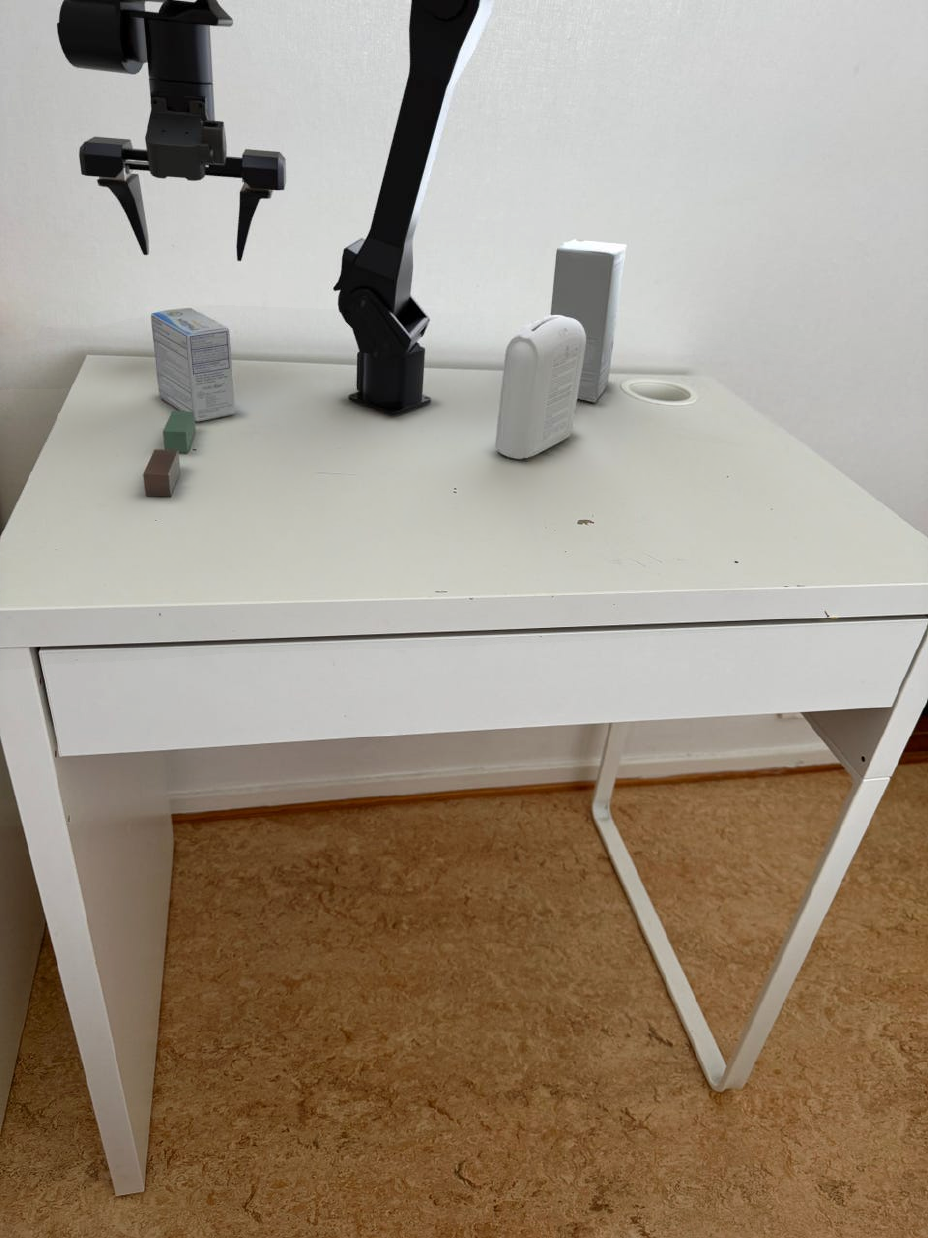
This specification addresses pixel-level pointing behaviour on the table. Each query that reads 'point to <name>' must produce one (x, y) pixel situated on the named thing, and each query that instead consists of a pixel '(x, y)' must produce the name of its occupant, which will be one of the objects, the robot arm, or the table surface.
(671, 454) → the table surface
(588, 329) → the cosmetic box
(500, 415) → the photo printer
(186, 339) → the medicine box
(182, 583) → the table surface
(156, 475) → the walnut bar
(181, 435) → the sage bar
